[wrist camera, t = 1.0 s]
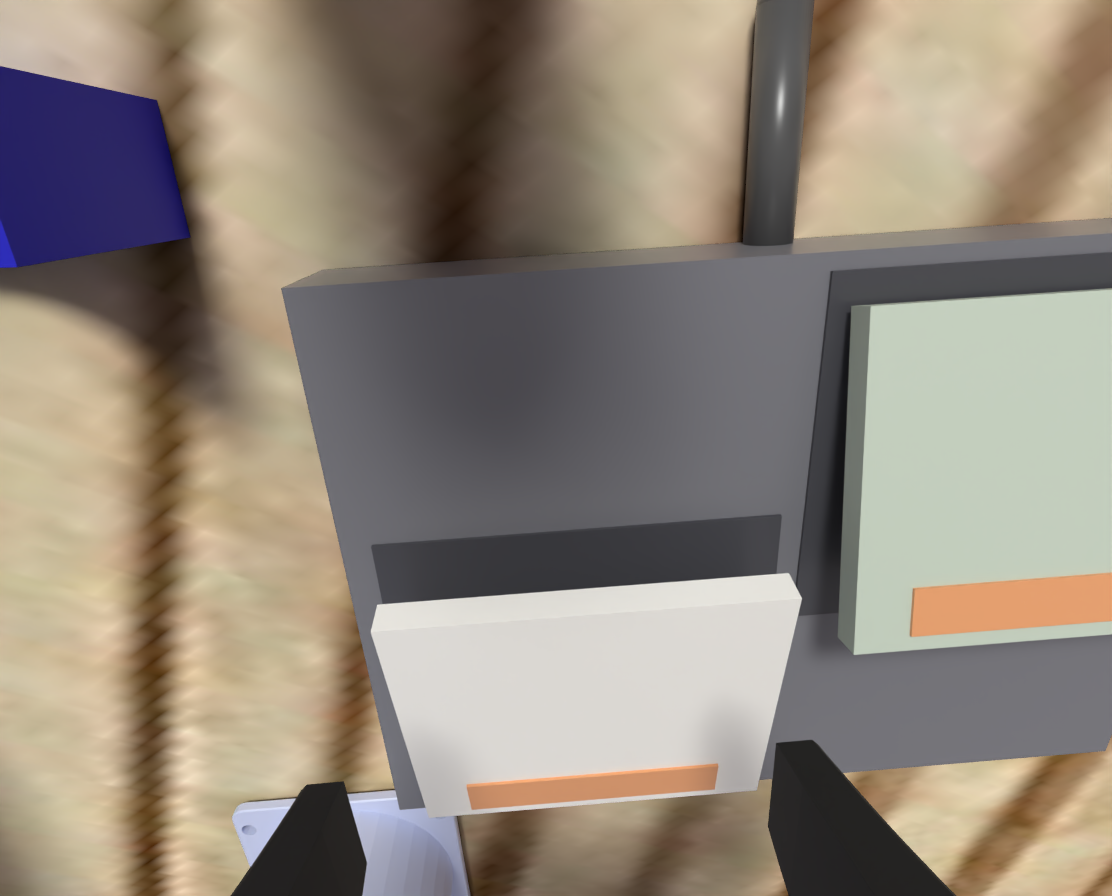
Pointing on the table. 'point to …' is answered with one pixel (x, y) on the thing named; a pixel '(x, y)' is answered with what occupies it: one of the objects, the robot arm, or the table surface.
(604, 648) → the cream rocker
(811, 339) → the switch block
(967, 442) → the plate
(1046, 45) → the table surface
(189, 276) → the table surface
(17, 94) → the blue curved bracket
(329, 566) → the table surface
